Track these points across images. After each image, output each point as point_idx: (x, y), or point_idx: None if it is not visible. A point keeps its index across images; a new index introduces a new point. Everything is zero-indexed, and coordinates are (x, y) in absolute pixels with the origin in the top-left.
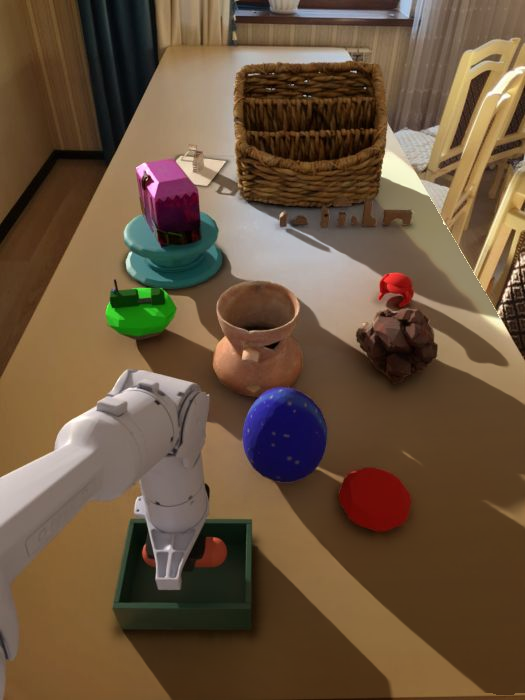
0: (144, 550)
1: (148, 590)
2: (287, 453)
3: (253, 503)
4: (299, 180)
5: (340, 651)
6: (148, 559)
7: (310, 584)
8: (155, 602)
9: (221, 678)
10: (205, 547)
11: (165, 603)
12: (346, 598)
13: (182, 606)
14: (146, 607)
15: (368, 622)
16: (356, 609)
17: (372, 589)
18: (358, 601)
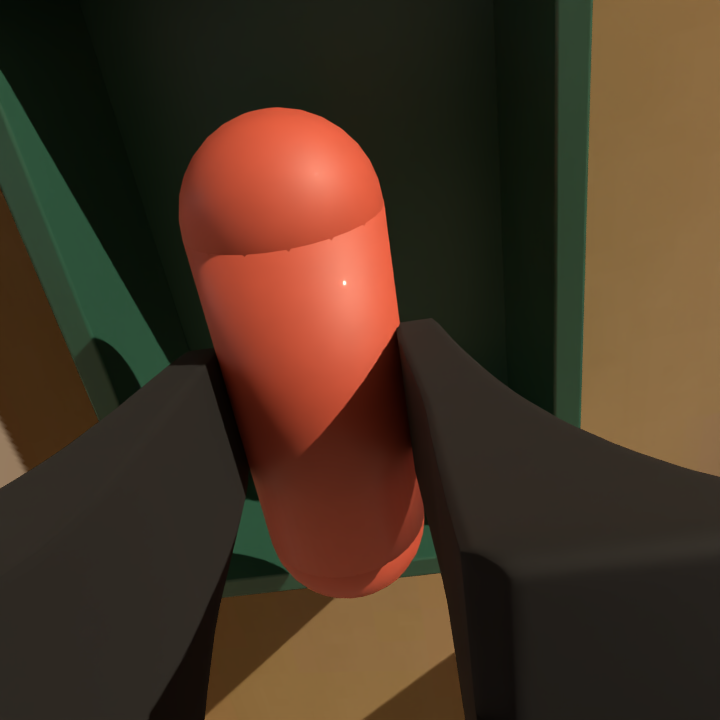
0: (233, 156)
1: (250, 61)
2: None
3: (698, 407)
4: None
5: (222, 656)
6: (186, 198)
7: (390, 590)
8: (204, 115)
9: (40, 410)
10: (326, 547)
11: (69, 285)
12: (363, 662)
13: (87, 367)
14: (3, 192)
15: (309, 699)
16: (337, 679)
17: (397, 705)
18: (360, 682)
